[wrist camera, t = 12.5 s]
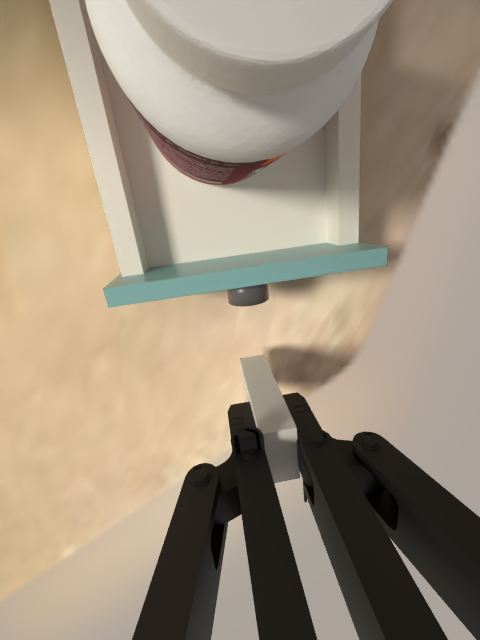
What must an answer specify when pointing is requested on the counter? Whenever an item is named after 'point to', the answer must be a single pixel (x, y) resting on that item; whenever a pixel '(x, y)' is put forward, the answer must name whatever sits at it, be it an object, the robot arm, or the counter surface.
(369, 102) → the counter surface
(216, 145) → the pill bottle
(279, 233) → the tray
